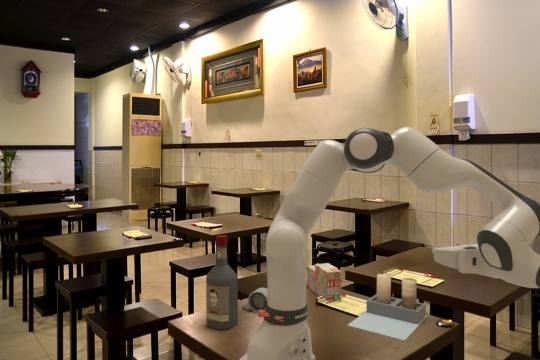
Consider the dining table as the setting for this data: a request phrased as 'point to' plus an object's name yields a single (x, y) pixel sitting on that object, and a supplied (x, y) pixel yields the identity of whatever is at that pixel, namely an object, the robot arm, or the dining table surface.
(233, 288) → the liquor
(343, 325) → the dining table surface
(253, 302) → the ceramic mug
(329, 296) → the stack of blocks
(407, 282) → the beech post
